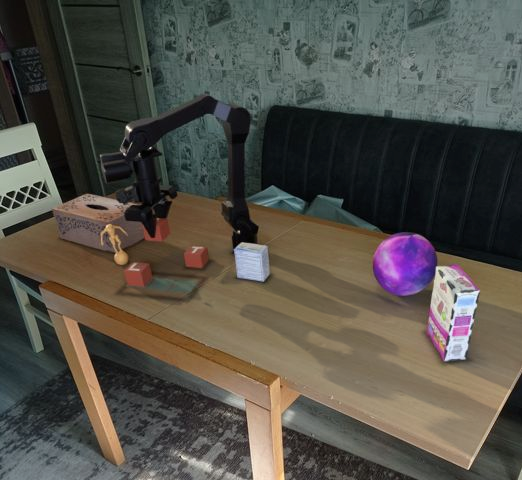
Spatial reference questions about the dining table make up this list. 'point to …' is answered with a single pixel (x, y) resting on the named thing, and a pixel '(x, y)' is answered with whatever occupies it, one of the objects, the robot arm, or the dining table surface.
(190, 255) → the letter T
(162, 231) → the red box-shaped block
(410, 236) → the decorative orb
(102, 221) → the tissue box cover
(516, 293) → the dining table surface
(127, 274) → the letter L
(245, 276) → the medicine box
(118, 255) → the figurine
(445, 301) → the candy bar box
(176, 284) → the word mat
